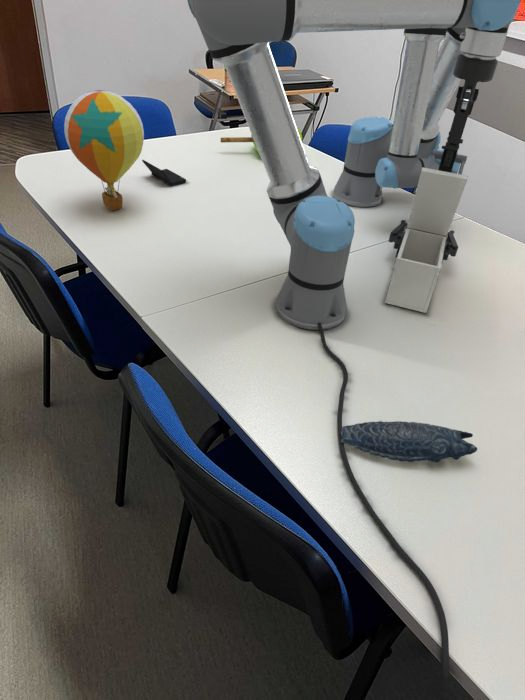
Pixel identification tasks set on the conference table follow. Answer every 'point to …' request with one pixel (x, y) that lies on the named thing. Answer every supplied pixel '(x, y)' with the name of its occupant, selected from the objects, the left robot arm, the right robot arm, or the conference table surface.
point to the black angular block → (165, 175)
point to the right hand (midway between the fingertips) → (419, 257)
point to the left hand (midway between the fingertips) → (442, 176)
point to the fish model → (407, 440)
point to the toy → (105, 138)
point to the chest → (416, 270)
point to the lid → (437, 197)
